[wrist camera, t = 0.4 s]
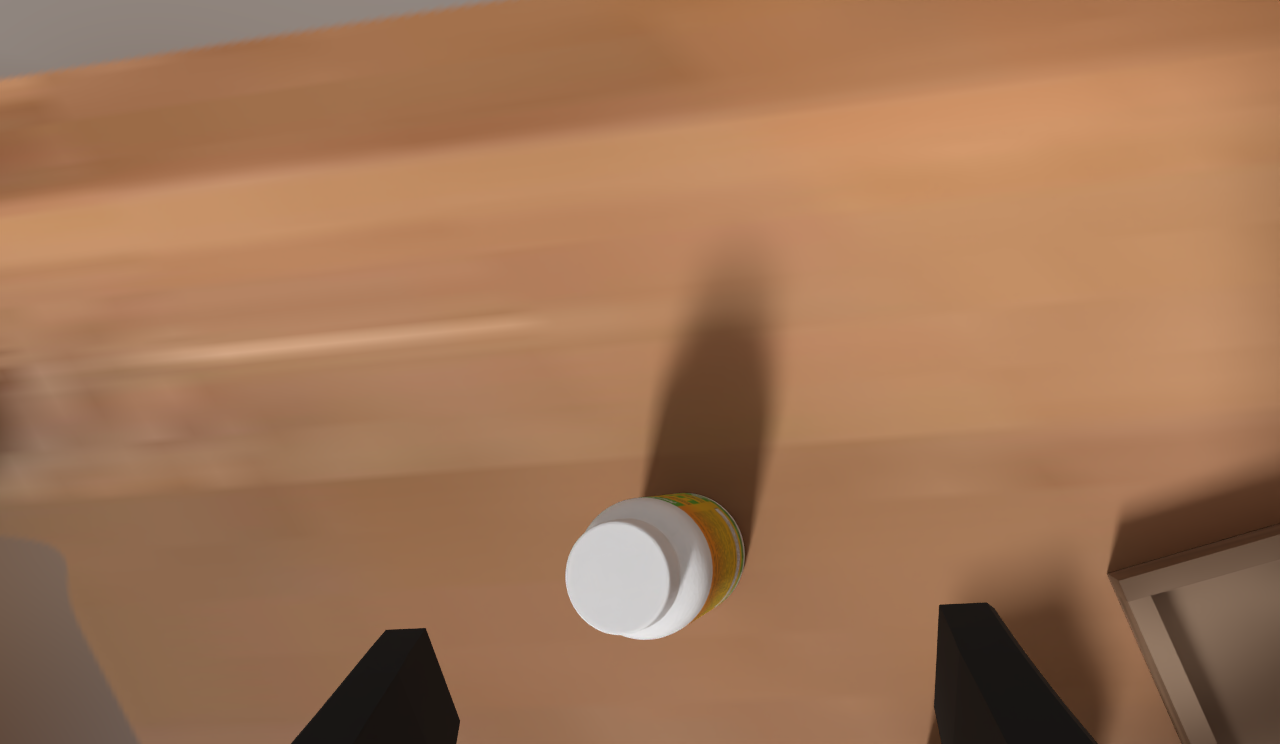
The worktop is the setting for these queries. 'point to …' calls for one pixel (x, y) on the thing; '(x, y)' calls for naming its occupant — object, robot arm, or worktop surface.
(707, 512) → the supplement bottle
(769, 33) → the worktop surface
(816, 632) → the worktop surface
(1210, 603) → the tray
